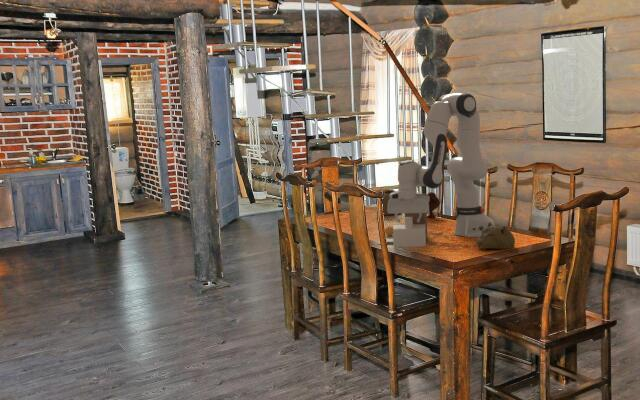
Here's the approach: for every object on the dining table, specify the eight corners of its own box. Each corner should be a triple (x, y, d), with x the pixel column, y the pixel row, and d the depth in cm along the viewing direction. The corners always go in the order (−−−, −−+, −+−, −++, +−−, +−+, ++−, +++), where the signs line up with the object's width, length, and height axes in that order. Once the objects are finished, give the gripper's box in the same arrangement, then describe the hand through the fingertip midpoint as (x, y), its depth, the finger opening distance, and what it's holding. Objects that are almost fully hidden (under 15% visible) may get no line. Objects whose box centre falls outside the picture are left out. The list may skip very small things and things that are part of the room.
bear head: (469, 248, 324) (470, 223, 323) (500, 245, 331) (501, 221, 330) (487, 253, 312) (488, 227, 310) (519, 251, 319) (520, 225, 318)
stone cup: (381, 217, 411) (380, 192, 408) (375, 214, 422) (374, 189, 420) (406, 215, 414) (405, 190, 411) (399, 211, 425) (398, 187, 423)
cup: (425, 241, 343) (424, 215, 340) (425, 246, 333) (424, 219, 331) (394, 242, 345) (393, 216, 343) (393, 247, 335) (392, 220, 333)
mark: (398, 238, 353) (398, 238, 353) (397, 244, 341) (397, 243, 341) (379, 239, 354) (379, 238, 354) (377, 244, 343) (377, 244, 343)
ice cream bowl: (443, 216, 403) (442, 190, 401) (435, 219, 394) (435, 193, 392) (426, 215, 409) (425, 190, 406) (418, 218, 400) (417, 193, 397)
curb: (393, 244, 342) (393, 241, 342) (393, 244, 341) (393, 241, 341) (381, 244, 343) (381, 241, 343) (381, 244, 342) (381, 242, 342)
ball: (394, 234, 363) (394, 225, 362) (394, 236, 358) (394, 227, 357) (385, 234, 364) (384, 225, 363) (384, 236, 359) (384, 227, 358)
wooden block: (425, 240, 345) (424, 200, 342) (405, 240, 347) (404, 201, 344) (427, 236, 355) (426, 197, 351) (407, 236, 357) (406, 197, 354)
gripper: (429, 192, 336) (430, 220, 338) (387, 193, 340) (388, 221, 342) (429, 194, 330) (430, 223, 332) (386, 195, 333) (387, 223, 336)
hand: (408, 222), depth 337 cm, fingers open, 8 cm apart
